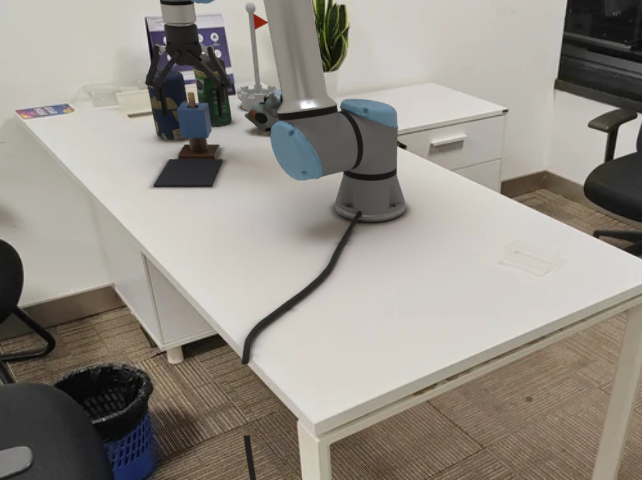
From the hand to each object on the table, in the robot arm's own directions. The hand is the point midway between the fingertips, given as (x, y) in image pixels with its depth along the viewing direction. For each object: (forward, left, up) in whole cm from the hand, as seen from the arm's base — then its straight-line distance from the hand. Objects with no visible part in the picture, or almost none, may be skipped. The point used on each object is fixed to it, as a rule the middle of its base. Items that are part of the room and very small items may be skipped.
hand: (193, 114), depth 173 cm
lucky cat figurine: (+22, -18, -10) cm, 31 cm away
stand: (0, 0, -10) cm, 10 cm away
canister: (+14, +9, -10) cm, 20 cm away
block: (0, 0, -5) cm, 5 cm away
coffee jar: (+29, 0, -10) cm, 31 cm away
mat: (-15, 0, -10) cm, 18 cm away
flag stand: (+46, -11, -10) cm, 49 cm away
